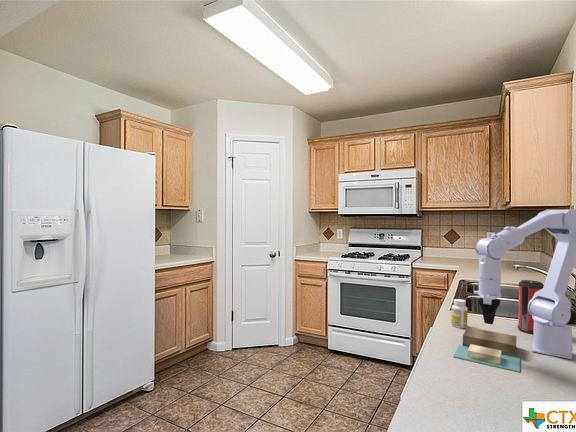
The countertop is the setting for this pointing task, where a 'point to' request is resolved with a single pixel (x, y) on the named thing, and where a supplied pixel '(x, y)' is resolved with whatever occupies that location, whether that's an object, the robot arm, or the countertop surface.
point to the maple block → (484, 354)
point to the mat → (506, 362)
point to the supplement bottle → (459, 314)
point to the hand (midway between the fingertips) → (488, 323)
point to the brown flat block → (490, 340)
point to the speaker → (525, 295)
